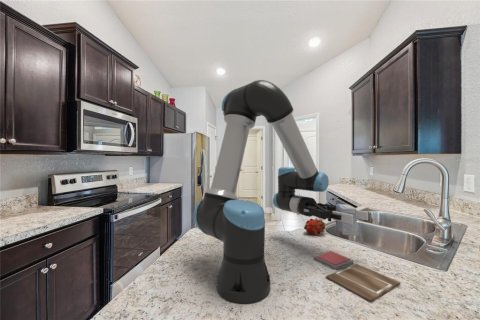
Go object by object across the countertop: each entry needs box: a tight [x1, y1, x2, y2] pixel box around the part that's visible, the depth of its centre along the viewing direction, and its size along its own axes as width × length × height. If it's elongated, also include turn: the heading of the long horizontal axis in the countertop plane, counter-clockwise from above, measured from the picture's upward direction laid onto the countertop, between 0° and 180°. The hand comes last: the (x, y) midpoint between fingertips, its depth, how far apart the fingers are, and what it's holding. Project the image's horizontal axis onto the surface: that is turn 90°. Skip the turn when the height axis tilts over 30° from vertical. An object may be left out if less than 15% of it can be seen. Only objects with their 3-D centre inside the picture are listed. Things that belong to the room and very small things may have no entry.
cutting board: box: [325, 263, 401, 303], centre depth 62 cm, size 16×13×1 cm
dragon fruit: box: [303, 217, 326, 237], centre depth 104 cm, size 8×8×12 cm
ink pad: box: [312, 250, 354, 271], centre depth 75 cm, size 10×9×1 cm
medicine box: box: [335, 203, 358, 237], centre depth 70 cm, size 8×4×9 cm, turn 170°
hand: (360, 217), depth 66 cm, fingers closed on medicine box, 8 cm apart
